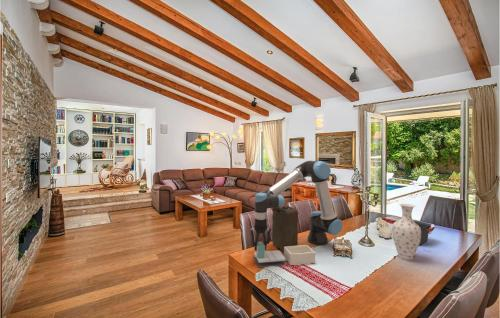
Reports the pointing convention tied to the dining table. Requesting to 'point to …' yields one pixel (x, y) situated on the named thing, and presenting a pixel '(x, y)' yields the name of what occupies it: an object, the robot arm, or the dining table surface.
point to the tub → (299, 254)
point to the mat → (268, 263)
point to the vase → (406, 234)
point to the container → (284, 227)
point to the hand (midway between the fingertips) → (260, 255)
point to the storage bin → (424, 231)
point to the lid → (268, 255)
